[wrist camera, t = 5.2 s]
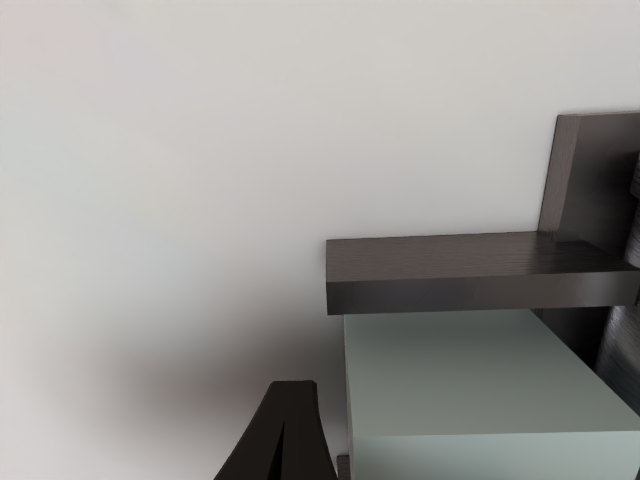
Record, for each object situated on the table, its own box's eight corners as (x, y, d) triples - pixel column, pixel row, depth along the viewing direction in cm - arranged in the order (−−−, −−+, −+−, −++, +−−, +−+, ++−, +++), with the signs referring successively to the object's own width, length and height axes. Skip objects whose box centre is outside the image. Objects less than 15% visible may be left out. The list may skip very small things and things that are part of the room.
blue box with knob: (495, 425, 12) (635, 688, 6) (347, 428, 12) (364, 686, 7) (515, 295, 10) (731, 507, 5) (342, 302, 10) (359, 512, 5)
